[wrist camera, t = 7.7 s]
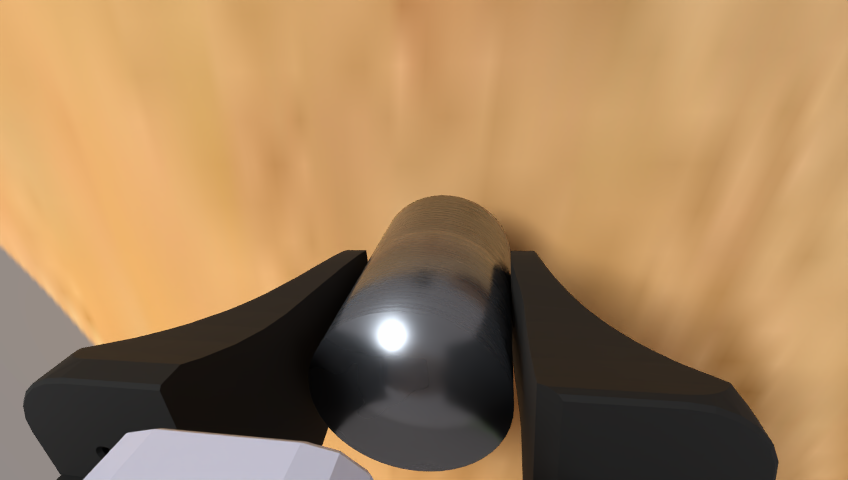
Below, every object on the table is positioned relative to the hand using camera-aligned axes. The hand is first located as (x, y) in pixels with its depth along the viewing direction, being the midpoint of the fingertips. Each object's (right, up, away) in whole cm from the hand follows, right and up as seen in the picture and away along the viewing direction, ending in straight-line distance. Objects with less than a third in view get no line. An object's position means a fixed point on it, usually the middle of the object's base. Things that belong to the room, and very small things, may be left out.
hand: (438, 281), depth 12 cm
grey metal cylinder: (0, +1, +1) cm, 2 cm away
